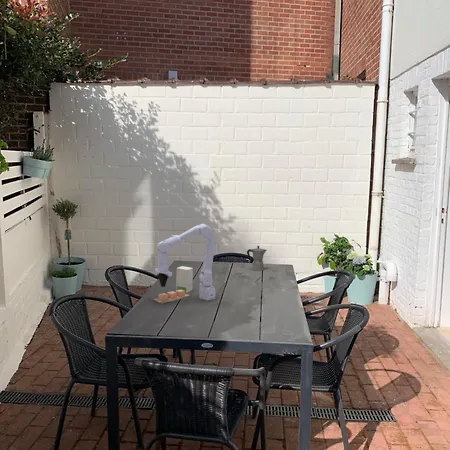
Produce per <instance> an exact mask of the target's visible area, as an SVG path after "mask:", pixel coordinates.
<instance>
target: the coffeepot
mask: <svg viewBox="0 0 450 450" xmlns="http://www.w3.org/2000/svg"><path fill="white" fill-rule="evenodd" d="M251 252H252V258H251V254H250V253H251ZM266 252H267V249H265V248H260V245H257V247H256V248H249V249H247V250H246V254H247V257H248V260H249V261H253V262H252V266H251V270H252V271H254V272H259V271H260V272H261V271H264V270H265V266H264V261H263V259H264V255H265V253H266Z"/></svg>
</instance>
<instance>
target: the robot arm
mask: <svg viewBox="0 0 450 450" xmlns="http://www.w3.org/2000/svg"><path fill="white" fill-rule="evenodd" d="M192 236H202V237H203V238H204V239H205V240H206V243H205V244H206V246H205V251H204V258H203V263H202V268H201V270H200V273H199V275H198V280H199V281H200V282H199V285H198V286H199V293H198V298H199V299H200V300H203V301H204V300H205V301H212V300H216V288H215V287H214V286H213V272H212V271H213V270H212V268H213V267H212V266H213V261H214V255H215V249H216V241H217V238H216V235H215V233H214V230H213V229H212V227H210V226H209V225H207V224H206V223H200V224H197V225H195V226H193V227H192V228H190V229H188V230H185V231H184V232H182V233H181V234H179V235H177V234H175V235H174V234H171V236H170V237H169V238H167V239H166V238H165V239H163V240H162V241H159V242H158V243H157V245H156V248H157V267H155V268H154V272H155V273H156V276H157V278H158V280H159V283H160V287H162V288H164V287H166V285H167V281H168V279H169V278H170V277H173V272H171V271H170V270H169V250H171V249H173V248H174V247H176V246H179V245H181V242H182V241H183V240H186V239H188V238H190V237H192Z"/></svg>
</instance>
